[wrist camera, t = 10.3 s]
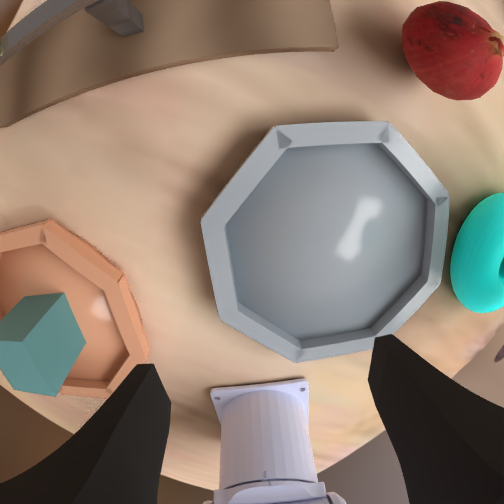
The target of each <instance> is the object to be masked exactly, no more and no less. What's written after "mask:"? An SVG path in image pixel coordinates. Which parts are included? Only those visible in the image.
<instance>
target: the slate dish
mask: <svg viewBox="0 0 504 504" xmlns="http://www.w3.org/2000/svg"><path fill="white" fill-rule="evenodd" d="M449 207H450V196H449V193H448V192H447V191H446V189H445V188H444V186H443V185H442V184H441V182H440V181H439V180H438V179H437V177H436V176H435V175H434V173H433V172H432V171H431V170H430V168H429V167H428V166H427V165H426V163H425V162H424V161H423V160H422V158H421V157H420V156H419V155H418V154H417V152H416V151H415V150H414V149H413V148H412V147H411V145H410V144H409V143H408V142H407V141H406V140H405V139H404V137H403V136H402V135H401V134H400V133H399V132H398V131H397V130H396V129H395V128H394V127H393V125H392V124H391V123H390V122H388V121H351V122H322V123H304V124H290V125H278V126H274V127H272V128H271V129H270V130H269V131H268V132H267V134H266V135H265V136H264V137H263V138H262V140H261V141H260V142H259V143H258V145H257V146H256V147H255V148H254V150H253V151H252V152H251V153H250V154H249V156H248V157H247V158H246V160H245V161H244V162H243V163H242V165H241V166H240V167H239V168H238V170H237V171H236V172H235V173H234V175H233V176H232V177H231V179H230V180H229V181H228V182H227V184H226V185H225V186H224V188H223V189H222V190H221V192H220V193H219V194H218V195H217V197H216V198H215V199H214V201H213V202H212V203H211V205H210V206H209V207H208V209H207V210H206V211H205V213H204V214H203V216H202V218H201V221H200V223H201V228H202V234H203V239H204V245H205V250H206V255H207V260H208V265H209V271H210V276H211V281H212V286H213V290H214V295H215V300H216V305H217V310H218V314H219V319H220V320H221V321H223V322H225V323H226V324H228V325H230V326H231V327H233V328H235V329H236V330H238V331H240V332H241V333H243V334H245V335H246V336H248V337H250V338H252V339H253V340H255V341H257V342H258V343H260V344H262V345H264V346H265V347H267V348H269V349H271V350H272V351H274V352H276V353H278V354H280V355H281V356H283V357H285V358H287V359H289V360H290V361H292V362H294V363H295V362H296V363H298V362H305V361H311V360H317V359H323V358H329V357H334V356H340V355H345V354H350V353H355V352H360V351H365V350H370V349H373V346H374V339H375V337H379V336H384V335H388V334H392V335H393V334H394V333H395V332H396V331H397V330H398V329H399V328H400V327H401V326H402V325H403V324H404V323H405V322H406V321H407V320H408V319H409V318H410V317H411V316H412V315H413V314H414V313H415V312H416V311H417V310H418V309H419V307H420V306H421V305H422V304H423V303H424V302H425V301H426V300H427V299H428V298H429V297H430V296H431V294H432V293H433V292H434V291H435V290H436V289H437V288H438V287H439V285H440V283H441V277H442V271H443V265H444V257H445V250H446V241H447V232H448V221H449Z"/></svg>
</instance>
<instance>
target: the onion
mask: <svg viewBox="0 0 504 504" xmlns="http://www.w3.org/2000/svg"><path fill="white" fill-rule="evenodd" d="M402 48H403V51H404V54H405V56H406V59H407V62H408V64H409V65H410V67H411V68H412V70H413V71H414V73H415V74H416V76H417V77H418V78H419V79H420V80H421V81H422V82H423V83H424V84H425V85H427V86H428V87H429V88H430V89H431V90H432V91H433V92H435V93H438V94H440V95H442V96H444V97H447V98H449V99H454V100H473V99H476V98H480V97H481V96H482V95H484V94H485V93H486V92H487V91H489V90H490V89H491V88H492V87H494V85H495V84H496V82H497V80H498V78H499V75H500V73H501V70H502V64H503V60H502V56H504V36H502V35H501V34H499V33H498V32H497V31H495V30H493V29H492V28H491V26H490V25H489V24H488V23H487V21H486V20H484V19H483V18H482V17H480V16H479V15H478V14H476V13H474V12H473V11H471V10H470V9H468V8H467V7H464V6H461V5H457V4H454V3H450V2H444V1H438V2H435V3H431V4H427V5H424V6H421V7H417V8H416V9H415V10H414V11H413V12H412V13H411V14H410V15H409V17H408V18H407V20H406V21H405V23H404V24H403V28H402Z"/></svg>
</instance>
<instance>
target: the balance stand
mask: <svg viewBox="0 0 504 504" xmlns="http://www.w3.org/2000/svg"><path fill="white" fill-rule="evenodd" d="M337 48H338V42H337V36H336V30H335V25H334V20H333V15H332V10H331V5H330V1H329V0H99V1H97V2H95V3H93V4H91V5H89V6H87V7H85V8H83V9H82V10H80V11H78V12H76V13H75V14H73V15H71V16H70V17H68V18H66V19H65V20H63V21H61V22H60V23H58V24H57V25H55V26H53V27H52V28H50V29H49V30H47V31H46V32H44V33H43V34H42V35H40V36H39V37H37V38H36V39H34V40H33V41H32V42H30V43H29V44H28V45H26V46H25V47H24V48H22V49H21V50H20V51H18V52H17V53H16V54H15V55H13V56H12V57H11V58H10V59H8V60H7V61H6V62H5V63H4V64H2V65H1V66H0V128H1V127H8V126H10V125H12V124H14V123H16V122H17V121H19V120H21V119H23V118H25V117H28V116H30V115H32V114H34V113H36V112H38V111H40V110H43V109H45V108H47V107H49V106H52V105H54V104H56V103H59V102H61V101H63V100H66V99H68V98H71V97H74V96H76V95H79V94H81V93H84V92H87V91H90V90H93V89H95V88H98V87H101V86H104V85H107V84H110V83H114V82H117V81H120V80H123V79H127V78H130V77H134V76H138V75H141V74H145V73H149V72H153V71H157V70H161V69H166V68H170V67H175V66H179V65H184V64H189V63H195V62H200V61H206V60H213V59H219V58H226V57H234V56H242V55H252V54H263V53H277V52H300V51H335V50H336V49H337Z"/></svg>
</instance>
